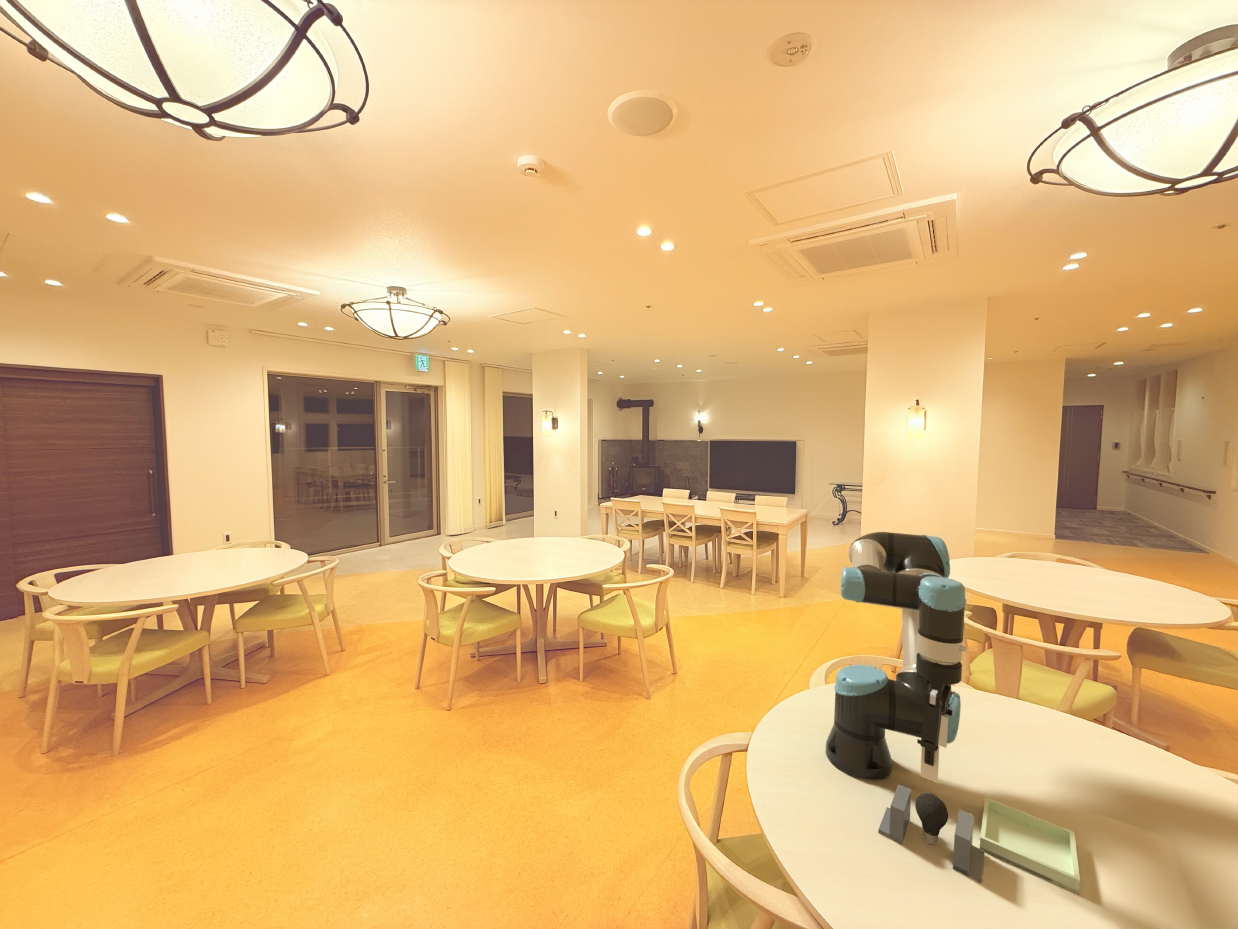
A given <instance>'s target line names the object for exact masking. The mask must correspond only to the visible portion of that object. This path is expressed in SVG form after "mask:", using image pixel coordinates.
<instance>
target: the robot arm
mask: <svg viewBox="0 0 1238 929" xmlns="http://www.w3.org/2000/svg"><path fill="white" fill-rule="evenodd" d="M848 559H849V561H850V563H851V566H850V567H847V566H846V567H843V568H842V569H841V579H840V596H841V597H842V598H843V599H844V600H847V601H853V602H856V603H862V604H863V603H864V604H870V605H871V604H872V605H878V606H885V607H894V608H898V609H901V626H902V628H901V629H902V630H901V632H902V636H901V637H902V643H901V644H902V668H901V669H900V670H899V671H898V672H896V673H895V679H892V678H891V679H890V678H889V677H888V675H887V674H886V671H884V670H882V669H881V668H877V667H876V666H872V665H866V664H851V665H848V666H844V667H841V669H839V670H838V671H837V672H836V676H835V684H834V691H835V694H834V716H833V720H834V721H833V725H832V727H831V729H830V732H829V734H828V736H827V739H826V743H825V755H826V758H827V759H828V760H829V762H830V763H831V764H832V765H833V766H834V767H836V768H837V769H839V771H842V772H844V773H845V774H847V775H849V776H852V777H855V778H858V779H861V780H867V781H880V780H884V779H886V778H888V777H889V776H890V775H891V774H892V770H893V769H892V768H893V759H892V756H891V752H890V750H889V749H890V748H889V746H888V743H887V739H886V730H888V731H893V732H896V733H899V734H903V735H907V736H912V737H916V738H917V742H916V743H917V744H918V745H920V747H921V753H920V754H921V756H920V777H922V778H924V779H926V780H929V781H932V782H934V783H936V784H937V783H938V780H939V764H940V763H939V760H940V747H942V748H945V749H947V747H948V745H949V744H952V743H953V742H954V741H955V740H956V738H957V734H958V731H959V726H960V719H961V709H962V708H961V706H962V704H961V695H960V694H959V692H955V691H953V690H952V685H957V684H960V683H961V682H962V672H963V664H962V663H961V661H962V660H963V652H967V651H968V650H967V649H968V648H967V647H966V645H963V644H964V642H963V641H964V627H965V625H964V624H965V610H966V605H967V599H966V588H965V586H964V584H963V583H962V582H960V581H958V580H956V579H953V578H949V577H950V576H951V575H950V574H951V564H950V562H951V561H950V553H949V550H948V546H947V545H946V542H945V541H944V540H943V539H942V538H940V537H938V536H932V535H928V534H912V533H910V534H909V533H898V532H890V531H889V532H888V531H877V532H870V533H867V534H865V535H862V536H860V537H858V538H855V540H853V542H852V543H851V545H850V546H849V549H848ZM918 738H919V739H918Z"/></svg>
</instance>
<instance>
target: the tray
mask: <svg viewBox="0 0 1238 929" xmlns="http://www.w3.org/2000/svg"><path fill="white" fill-rule="evenodd" d="M981 822H982V823H981V829H980V839H979V840H980V841H979V842H980V843H979V848H980V849H982V850H984V851H985V853H986V854H988V855H991V856H992V857H995V858H997V859H999V860H1001V861H1003V862H1006V863H1008V864H1010V865H1013V866H1015V867H1017V868H1020V869H1021V870H1024V871H1026V872H1028V873H1031V874H1033V875H1035V876H1037V877H1039V878H1042V879H1044V880H1046V881H1048V882H1050V883H1052V884H1054V885H1057V886H1059V887H1062V888H1064V889H1066V890H1068V891H1070V892H1072V893H1075V894H1077V895H1080V888H1081V877H1080V869H1079V861H1078V853H1077V851H1078V850H1077V845H1076V844H1077V843H1076V836H1075V831H1073V830H1071V829H1068V828H1066V827H1063V826H1060V825H1059V824H1055V823H1053V822H1051V821H1048V820H1045V819H1042V818H1040V817H1038V816H1035V815H1032V814H1030V813H1027V812H1024V811H1022V810H1020V809H1017V808H1015V807H1013V806H1010V805H1006V804H1005V803H1002V802H999V801H996V800H995V799H992V798H988V797H986V796H985V797H984V804H983V812H982V820H981Z"/></svg>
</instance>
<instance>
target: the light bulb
mask: <svg viewBox="0 0 1238 929" xmlns="http://www.w3.org/2000/svg"><path fill="white" fill-rule="evenodd" d="M914 805H915V806H914V807H915V811H916V814H917V816H918V818H919V820H920V822H921V826H922V832H923V833H922V836H923V837H922V838H923V839H924V841H925V842H926V843H927V844H928V845H929V846H935V845H937V844H938V841H939V835H940V831H941V830H942V828H944V827H945V826H946V824H947V823H948V821H949V811H948V807H947V805H946V803H945V802H944V801H943V800H942V799H941V797H939V796H937V795H935V794H933V793H931V792H923V793H921V794H919V795H918V796H917V798H916V799H915V804H914Z"/></svg>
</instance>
